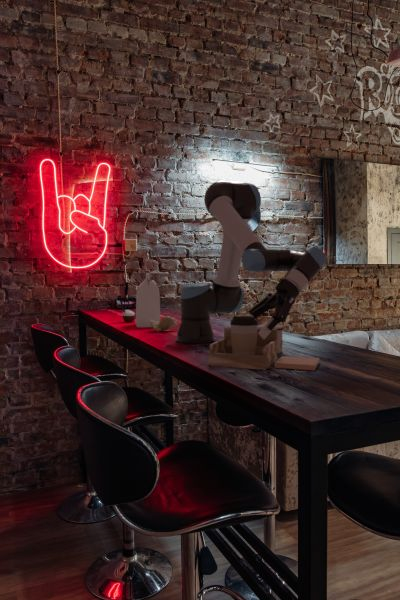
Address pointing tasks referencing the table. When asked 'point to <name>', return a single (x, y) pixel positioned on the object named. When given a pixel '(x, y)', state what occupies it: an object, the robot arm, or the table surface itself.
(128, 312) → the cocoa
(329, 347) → the table surface
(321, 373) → the table surface
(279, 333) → the teacup with lid
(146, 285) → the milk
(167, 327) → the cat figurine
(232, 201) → the robot arm
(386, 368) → the table surface
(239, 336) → the coffee cup
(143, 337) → the table surface
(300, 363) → the terracotta tile
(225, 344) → the frame
